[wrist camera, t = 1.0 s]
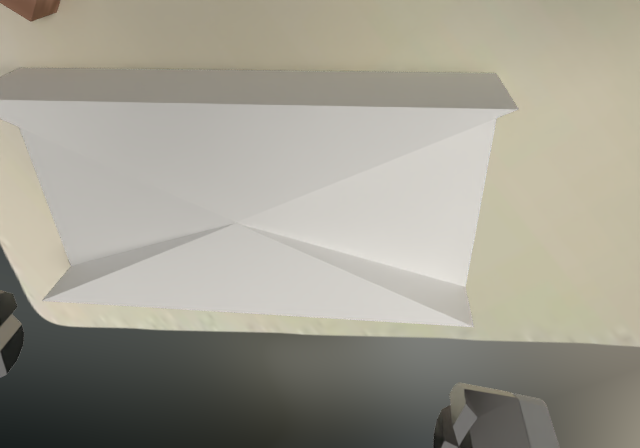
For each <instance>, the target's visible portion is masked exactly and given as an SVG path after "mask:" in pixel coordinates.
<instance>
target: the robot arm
mask: <svg viewBox="0 0 640 448" xmlns="http://www.w3.org/2000/svg"><path fill="white" fill-rule="evenodd" d="M16 308H17V304H16V301H15V298H14V295H13V294H12V293H8V292H5V291H0V377H3V376H4V375H6V374H7V373H8V372H9V370H10V369H11V368H12V367H13V365H14V364H15V363H16V361H17V359H18V357H19V354H20V352H21V349H22V347H23V342H24V331H23V327H22V324H21V323H20V322H19V321H18V320H17V319H16V318H15V317H14V316H13V315H12V313H13V312H14V310H15V309H16ZM449 396H450V404H451V405H449V406H447V407H445V408H443V409H442V410H441V412H440V414H439V416H438V418H437V421H436V426H435V430H434V439H433V448H560V447H559V444H558V440H557V438H556V434H555V431H554V428H553V424H552V422H551V418H550V415H549V412H548V409H547V406H546V404H545V403H544V401H543V400H542V399H538V398H533V397H529V396H523V395H518V394H512V393H511V392H506V391H501V390H496V389H490V388H485V387H480V386H474V385H469V384H464V383H457V384H456V385H455V386H454V387H453V389H452V391H451V392H450V394H449Z"/></svg>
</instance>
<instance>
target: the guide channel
mask: <svg viewBox="0 0 640 448" xmlns="http://www.w3.org/2000/svg"><path fill="white" fill-rule="evenodd" d="M0 3H1V4H3V5H5V6H6V7H8V8H9V9H11V10H13V11H14V12H16V13H18V14H19V15H21V16H23V17H24V18H26V19H28V20H29V21H34V20H36V19H39V18H42V17H45V16H47V15H50V14H53V13H56V12H57V9H58V6H59V3H60V0H0Z"/></svg>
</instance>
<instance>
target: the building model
mask: <svg viewBox="0 0 640 448" xmlns="http://www.w3.org/2000/svg"><path fill="white" fill-rule="evenodd" d="M516 110H519V109H518V107H517V106H516V104H515V102H514V101H513V99H512V98H511V96H510V94H509V93H508V91H507V90H506V88H505V86H504V85H503V83H502V82H501V80H500V78H499V77H498V75H497V74H496V73H459V72H370V71H282V70H193V69H104V68H18V69H16V70H14V71H12V72H10V73H8V74H6V75H4V76H2V77H0V119H1V120H4V121H6V122H8V123H11V124H13V125H15V126H17V127H19V129H20V131H21V134H22V137H23V139H24V142H25V145H26V148H27V150H28V153H29V156H30V158H31V161H32V164H33V166H34V169H35V172H36V174H37V177H38V180H39V182H40V185H41V188H42V190H43V193H44V196H45V198H46V201H47V204H48V206H49V209H50V212H51V214H52V217H53V220H54V222H55V225H56V228H57V230H58V233H59V236H60V238H61V241H62V244H63V246H64V249H65V252H66V254H67V257H68V260H69V262H70V265H71V267H70V268H69V269H68V270H67V271H66V272H65V274H64V275H63V276H62V277H61V278H60V280H59V281H58V282H57V283H56V284H55V286H54V287H53V288H52V289H51V290H50V292H49V293H48V294H47V295H46V296H45V298H44V299H43V300H42V301H53V302H69V303H86V304H102V305H119V306H135V307H152V308H168V309H185V310H201V311H218V312H234V313H251V314H267V315H284V316H300V317H317V318H333V319H350V320H366V321H383V322H399V323H416V324H432V325H449V326H465V327H474V325H473V320H472V315H471V311H470V306H469V301H468V296H467V291H466V282H467V276H468V271H469V266H470V260H471V255H472V249H473V244H474V239H475V233H476V228H477V222H478V217H479V211H480V206H481V201H482V195H483V190H484V184H485V179H486V173H487V168H488V163H489V157H490V152H491V146H492V141H493V136H494V130H495V125H496V119H497V118H499V117H501V116H504V115H506V114H509V113H511V112H514V111H516Z"/></svg>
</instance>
